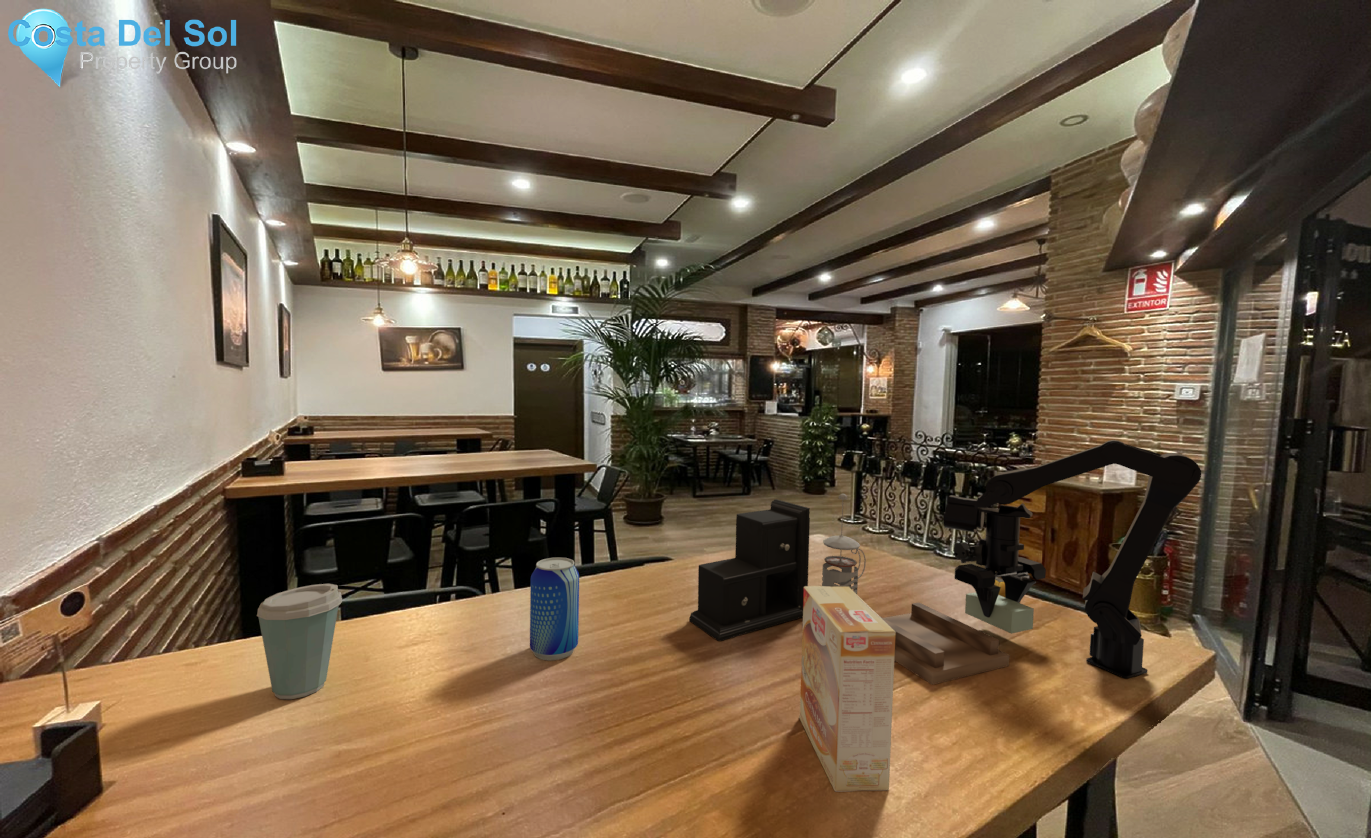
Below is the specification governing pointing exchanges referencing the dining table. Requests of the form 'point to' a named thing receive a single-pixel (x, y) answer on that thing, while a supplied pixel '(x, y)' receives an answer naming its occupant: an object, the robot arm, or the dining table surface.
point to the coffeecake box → (847, 687)
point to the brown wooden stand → (942, 646)
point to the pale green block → (1002, 613)
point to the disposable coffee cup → (299, 637)
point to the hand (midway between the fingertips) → (998, 614)
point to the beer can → (554, 609)
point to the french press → (841, 561)
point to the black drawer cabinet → (757, 574)
